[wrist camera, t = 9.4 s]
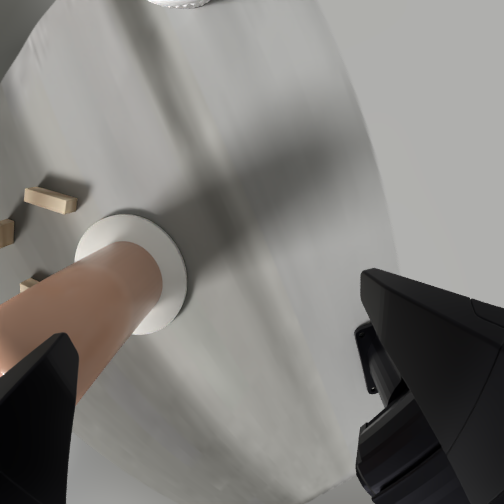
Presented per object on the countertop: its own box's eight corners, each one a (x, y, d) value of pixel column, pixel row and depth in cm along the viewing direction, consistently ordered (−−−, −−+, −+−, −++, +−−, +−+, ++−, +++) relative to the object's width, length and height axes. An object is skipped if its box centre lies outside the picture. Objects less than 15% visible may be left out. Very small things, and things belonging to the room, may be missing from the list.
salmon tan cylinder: (175, 303, 22) (86, 435, 9) (114, 321, 23) (13, 432, 10) (143, 229, 21) (6, 306, 8) (83, 255, 22) (-48, 332, 9)
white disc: (207, 314, 23) (205, 318, 22) (109, 341, 24) (106, 344, 23) (157, 194, 21) (154, 195, 20) (62, 239, 22) (58, 241, 21)
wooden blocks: (77, 198, 21) (54, 203, 18) (67, 305, 23) (47, 320, 20) (11, 179, 21) (-13, 182, 18) (6, 275, 23) (-15, 286, 20)
